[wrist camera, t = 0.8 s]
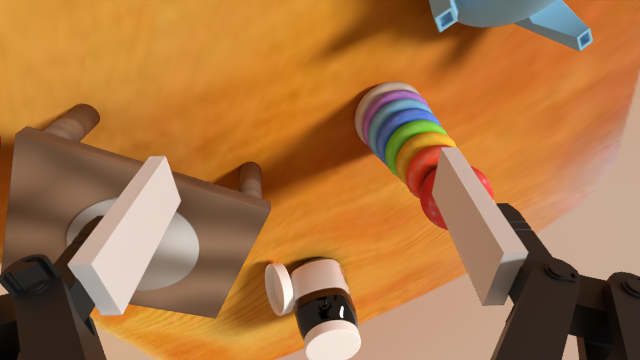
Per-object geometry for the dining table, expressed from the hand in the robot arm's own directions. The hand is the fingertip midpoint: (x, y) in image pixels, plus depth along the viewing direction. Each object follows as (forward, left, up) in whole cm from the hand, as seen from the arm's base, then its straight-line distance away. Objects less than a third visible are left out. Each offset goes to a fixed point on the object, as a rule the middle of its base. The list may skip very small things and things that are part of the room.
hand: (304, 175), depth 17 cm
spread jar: (+25, +15, -21) cm, 36 cm away
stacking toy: (-1, +13, -21) cm, 25 cm away
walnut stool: (+18, -7, -21) cm, 29 cm away
